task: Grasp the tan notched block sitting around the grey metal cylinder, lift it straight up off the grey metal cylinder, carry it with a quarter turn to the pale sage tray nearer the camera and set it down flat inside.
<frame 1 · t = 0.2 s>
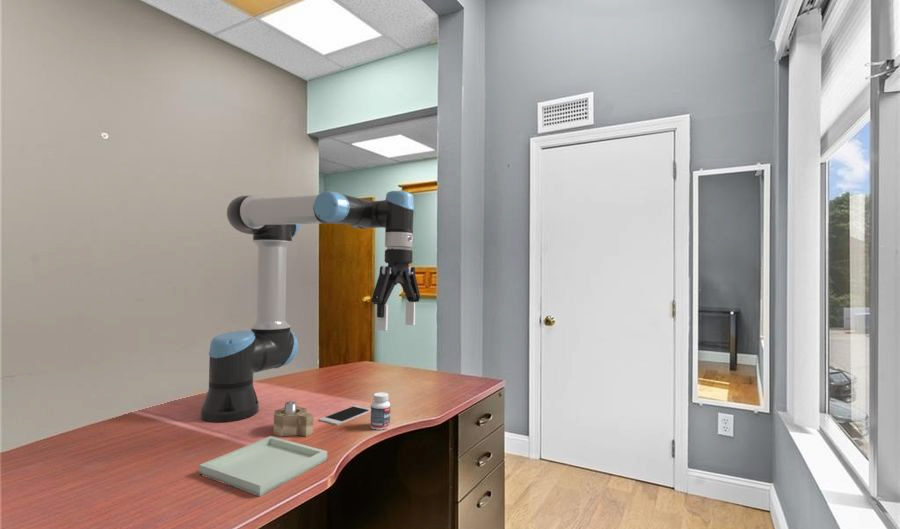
hand: (396, 327, 117), 28 cm above the table, fingers open, 13 cm apart
tan notched block: (290, 430, 115), on the table
smartphone: (347, 417, 128), on the table
tray: (265, 467, 94), on the table
grey metal cylinder: (290, 430, 115), on the table
pill bottle: (380, 427, 119), on the table
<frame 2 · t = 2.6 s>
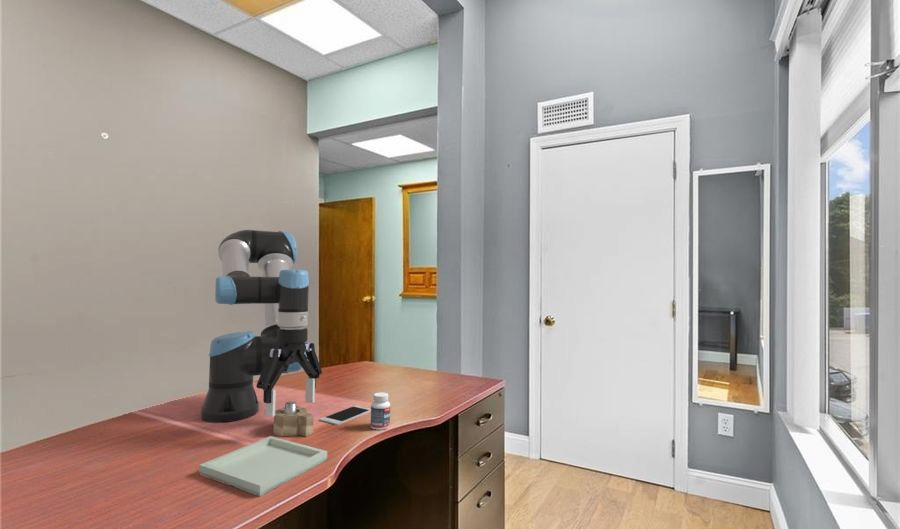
hand: (290, 408, 115), 6 cm above the table, fingers open, 13 cm apart
nothing on the table moved.
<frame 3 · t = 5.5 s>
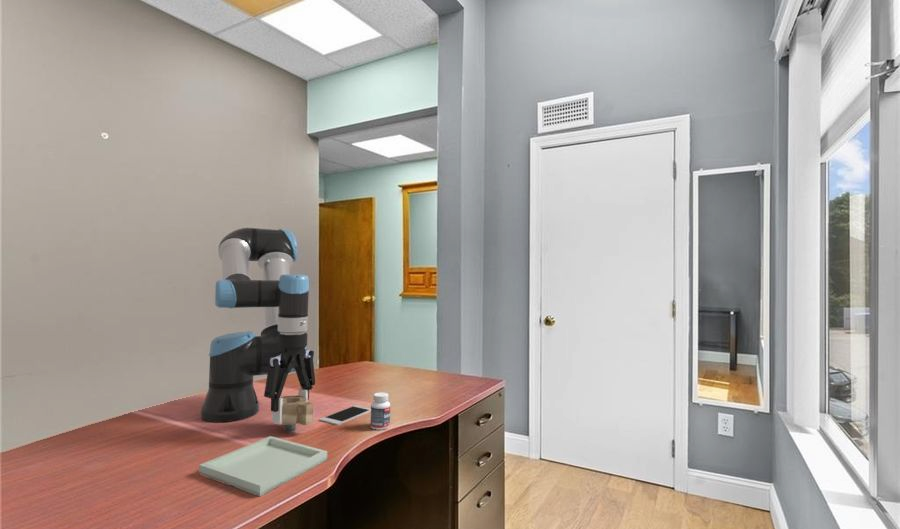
hand: (290, 418, 115), 3 cm above the table, fingers closed on tan notched block, 8 cm apart
tan notched block: (289, 419, 115), point 3 cm above the table, touching gripper
everything else where it was.
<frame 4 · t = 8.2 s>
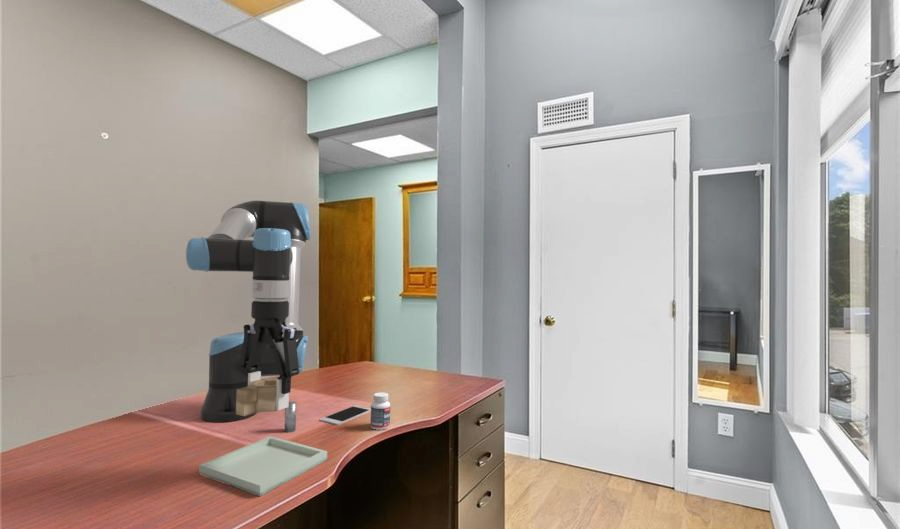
hand: (267, 405, 94), 13 cm above the table, fingers closed on tan notched block, 8 cm apart
tan notched block: (267, 406, 94), point 13 cm above the table, touching gripper
everything else where it was.
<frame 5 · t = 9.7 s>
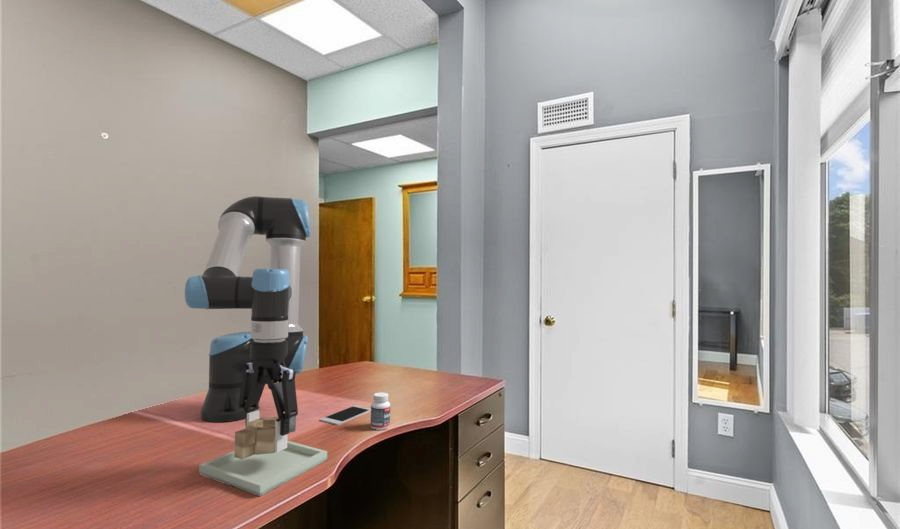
hand: (266, 445, 94), 5 cm above the table, fingers closed on tan notched block, 8 cm apart
tan notched block: (266, 446, 94), point 4 cm above the table, touching gripper
everything else where it was.
when the fingers open (2 cm above the table, at t = 11.2 s): tan notched block stays where it is, resting on tray.
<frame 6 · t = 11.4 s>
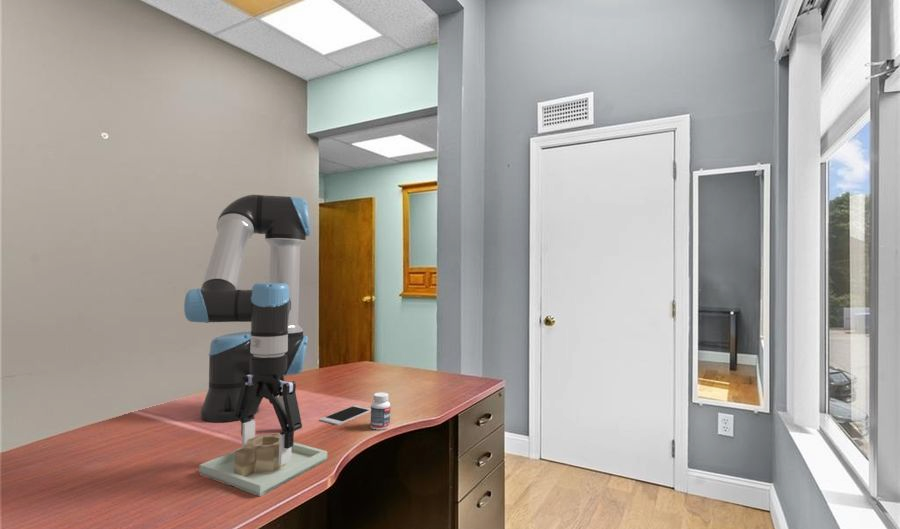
hand: (266, 456, 94), 2 cm above the table, fingers open, 10 cm apart
tan notched block: (266, 464, 94), point 1 cm above the table, touching tray
everything else where it was.
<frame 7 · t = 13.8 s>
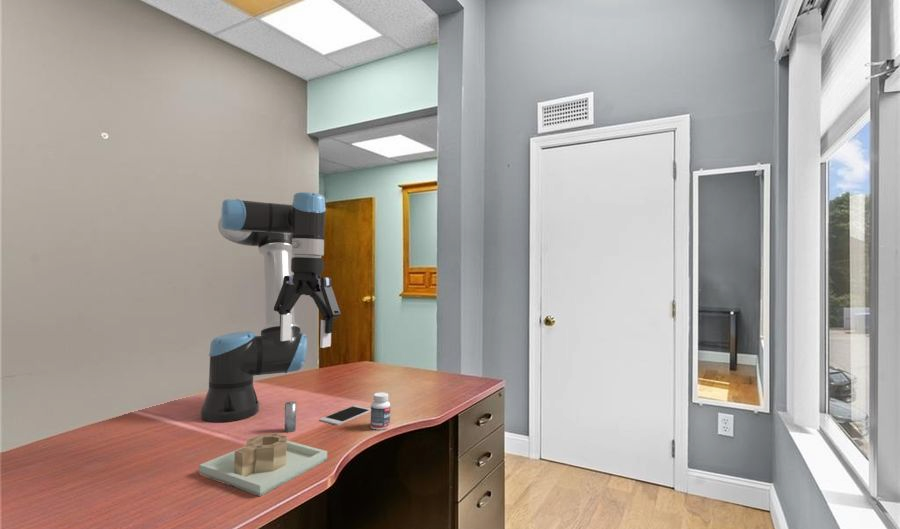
hand: (304, 343, 106), 25 cm above the table, fingers open, 13 cm apart
nothing on the table moved.
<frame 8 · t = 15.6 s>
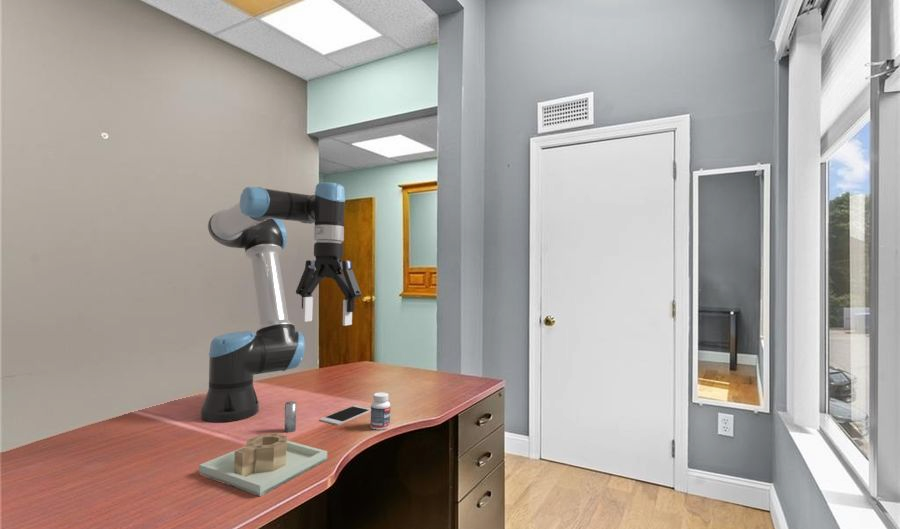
hand: (326, 323, 114), 29 cm above the table, fingers open, 13 cm apart
nothing on the table moved.
at the end: tan notched block inside the target area on the tray (0.1 cm from its centre), point 0.6 cm above the tray's base; tan notched block tilted 0°; the gripper is holding nothing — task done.
